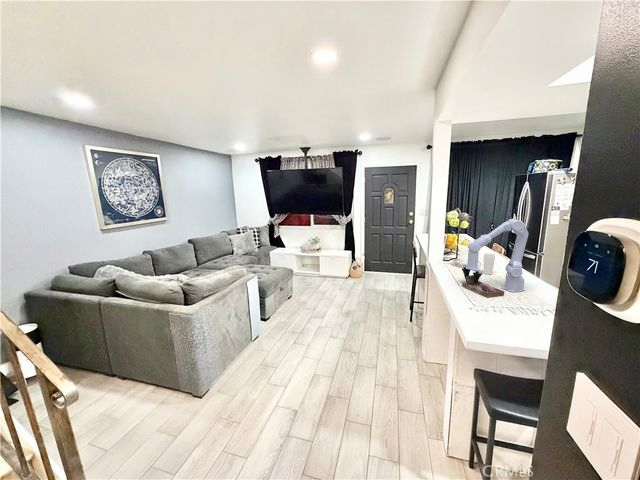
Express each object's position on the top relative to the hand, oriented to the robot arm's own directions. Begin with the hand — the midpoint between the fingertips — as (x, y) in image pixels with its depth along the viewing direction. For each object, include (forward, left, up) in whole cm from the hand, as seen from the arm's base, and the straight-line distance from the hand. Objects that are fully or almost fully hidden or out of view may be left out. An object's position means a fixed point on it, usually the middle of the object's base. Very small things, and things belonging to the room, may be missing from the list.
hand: (471, 280), depth 167 cm
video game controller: (-1, +13, -4) cm, 13 cm away
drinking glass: (-31, -18, -4) cm, 36 cm away
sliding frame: (0, +9, -3) cm, 9 cm away
